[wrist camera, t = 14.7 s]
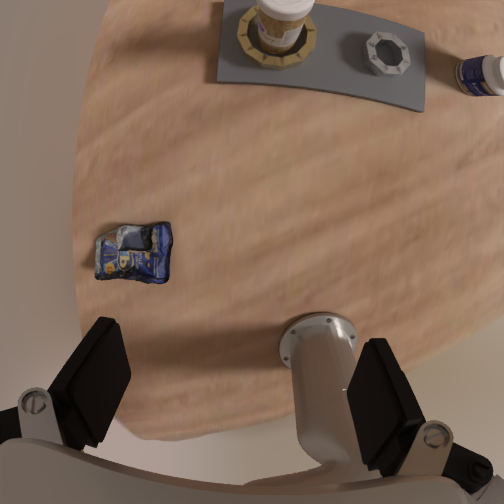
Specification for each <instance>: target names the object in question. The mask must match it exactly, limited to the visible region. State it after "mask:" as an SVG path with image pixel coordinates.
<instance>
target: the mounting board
mask: <svg viewBox="0 0 504 504" xmlns="http://www.w3.org/2000/svg"><path fill="white" fill-rule="evenodd" d="M256 5H258V4H257V1H256V0H224V8H223V17H222V27H221V37H220V48H219V59H218V71H217V82H218V83H227V84H254V85H269V86H281V87H291V88H300V89H309V90H316V91H323V92H329V93H336V94H341V95H347V96H352V97H357V98H362V99H367V100H372V101H376V102H381V103H385V104H389V105H393V106H397V107H401V108H404V109H408V110H411V111H415V112H418V113H420V112H424V106H425V37H424V32H421V31H418V30H416V29H413V28H410V27H407V26H405V25H402V24H399V23H396V22H392V21H389V20H386V19H383V18H379V17H376V16H372V15H368V14H364V13H360V12H356V11H352V10H347V9H343V8H338V7H333V6H327V5H321V4H315V3H314V4H313V7H312V9H311V10H310V12H309V13H308V14H309V16H310V18H311V20H312V22H313V23H314V25H315V27H316V29H317V34H316V43H315V48H314V49H313V51H312V52H311V54H310V55H309V56H308V57H307V58H306V59H305V60H304V61H303V62H302V63H301V64H300V65H299V66H295V67H292V68H289V69H286V70H283V71H279V70H272V69H265V68H261V67H260V66H258V65H257V64H255V63H254V62H252V61H251V60H249V59H247V58H246V56H245V54H244V52H243V50H242V48H241V46H240V44H239V42H238V38H237V33H238V27H239V21H240V19H241V18H242V17H243V16H244V15H245V13H246V12H247V11H248V10H249V9H251V8H252V7H253V6H256ZM375 32H385V33H393V34H395V35H396V36H397V37H398V38H399V39H400V40H401V41H402V42H403V43H404V44H405V45H406V46H407V47H408V52H409V57H410V62H411V64H410V65H409V66H408V67H407V69H406V70H405V71H404V72H403V73H402V75H399V76H396V77H394V78H390V77H377V76H375V75H374V74H373V73H372V72H371V71H370V70H369V69H368V68H367V67H366V66H364V65H363V63H362V57H361V52H360V47H361V46H362V45H363V43H364V42H365V41H366V40H367V39H368V38H369V37H370V36H371V35H373V34H374V33H375ZM258 33H259V32H258V21H257V22H256V23H255V24H254V25H253V26H252V27H251V28H250V30H249V36H248V39H249V41H250V43H251V45H252V47H253V48H255V49H257V50H258V51H260V52H261V53H263V54H264V55H266V56H273V57H280V58H282V57H286V56H289V55H292V54H295V53H297V52H298V51H299V50H300V49H301V48H302V47H303V46H304V39H305V36H304V34H303V32H302V30H301V32H300V34H299V36H298V38H297V40H296V45H295V47H294V48H293V49H292V50H291V51H289V52H288V53H286V54H280V55H278V54H277V55H275V54H271V53H269V52H267V51H265V50H264V49H262V47H261V46H260V45H259V43H258ZM375 50H376V55H377V58H379V59H380V60H381V61H382V62H383V63H384V64H385V65H386V66H393V65H394V64H395V62H394V57H393V53H392V52H391V51H390V50H389V49H388V48H387V47H386V46H385V45H375Z"/></svg>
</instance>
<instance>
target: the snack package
mask: <svg viewBox="0 0 504 504" xmlns="http://www.w3.org/2000/svg"><path fill="white" fill-rule="evenodd" d="M166 225H168V226H166ZM109 233H115V234H117V243H116V244H115V243H113V242H110V241H109V240H106V239H104V241H102V242H101V239H102V238H105V237H106V236H107V235H108V234H109ZM170 234H171V235H172V231H171V224H170V222H161V223H158V224H156V225H155V226H146V227H145V226H136V225H123V226H121V227H117V229H116V230H113V231H109V232H108V233H106V234H104V235H101V236H99V237H98V238H97V240H96V242H95V243H96V245H97V246H96V247H97V248H96V249H97V250H96V252H95V253H96V255H95V257H96V258H95V264H96V267H95V278H96V279H97V280H111V279H117V278H118V279H121V278H122V279H128V280H136V281H141V282H144V283H147V284H149V283H156V284H164V283H166V282H167V281H168V280H169V276H170V272H169V271H170V269H169V266H170V262H169V261H170V255H171V248H172V246H173V236H172V243H171V244H170V246H169V252H168V251H167V250H168V249H167V247H168V245H169V242H170ZM152 240H153V242H154V243H153V242H152ZM129 250H131V251H146V253H144V252H141V253H132V252H128V251H129Z"/></svg>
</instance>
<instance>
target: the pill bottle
mask: <svg viewBox="0 0 504 504" xmlns="http://www.w3.org/2000/svg"><path fill="white" fill-rule="evenodd" d="M455 74H456V79H457V82H458V84H459V86H460V87H461V89H462V90H463V91H464V92H465V93H466V94H468V95H470V96H502V95H504V56H500V57H496V56H494V55H486V56H481V57H476V58H471V59H466V60H462V61H460V62H459V63H458V64H457V66H456V69H455Z"/></svg>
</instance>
